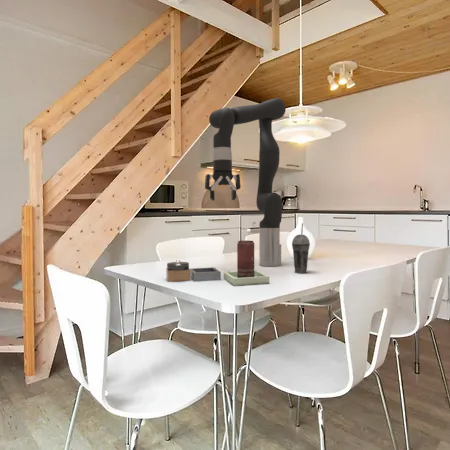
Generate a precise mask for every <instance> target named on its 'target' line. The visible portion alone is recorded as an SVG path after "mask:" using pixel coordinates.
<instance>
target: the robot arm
mask: <svg viewBox="0 0 450 450" xmlns="http://www.w3.org/2000/svg"><path fill="white" fill-rule="evenodd" d="M286 111H287V110H286V104H285V102H284V101H283V100H282V99H281V98H279V97H278V98H277V97H275V98H271V99H268V100H264V101H262V102H261V103H256V104H248V105H247V104H246V105H240V106H235V107H232V108H230V107H223V108H220V109H217V110H213V112H210V115H209V118H208V119H209V120H208V121H209V124H210V126H211V127H212V128H215V129H218V131H217V132H216V133H215V134H214V135H213V144H212V147H213V151H212V152H213V154H212V163H213V164H212V165H213V167H212V168H213V169H212V171H213V172H212V174H210V173H207V174H205V178H204V179H205V180H204V181H205V182H204V183H205V184H204V189H205V190H208V191H209V199H210V200H211V201H215V188H216V187H217V186H228V188H230V189H231V193H230V194H231V201H235V200H236V198H237V190H240V189H241V177H240V176H241V175H240V174H239V173H238V174H237V173H236V174H233V155H232V141H231V140H232V135H233V130H234V126H236V125H242V124H248V123H251V122H255V121H258V127H259V153H258V154H259V155H258V157H259V159H258V163H259V164H258V183H257V184H258V186H257V193H256V203H255V204H256V207H257V208H256V209H257V210H258V211H259V212H261V213H264V214H263V218H262V219H261V220H260V221H259V227H258V228H259V230H258V231H259V257H258V258H259V260H258V261H259V266H261V267H278V266H282V244H280V243H281V242H280V241H281V240H280V239H281V238H280V237H281V235H280V234H281V233H280V229H281V228H280V226H281V222H282V215H283V200H282V197H281V195H280V194H279V193H277V192H273V183H274V179H275V177H276V175H277V172H278V169H279V165H280V155H281V154H280V147H279V145H278V142H277V140H276V138H275V136H274V135H273V129H272V126H273V125H272V123H273V121H276V120H281V118H283V117H284V115H285V114H286ZM212 179H213V180H214V182H213V183H212V184H211V182H210V180H211V181H212ZM232 179H233V180H234V182H235V185H234V182H233V181H232ZM210 184H211V186H210Z"/></svg>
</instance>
